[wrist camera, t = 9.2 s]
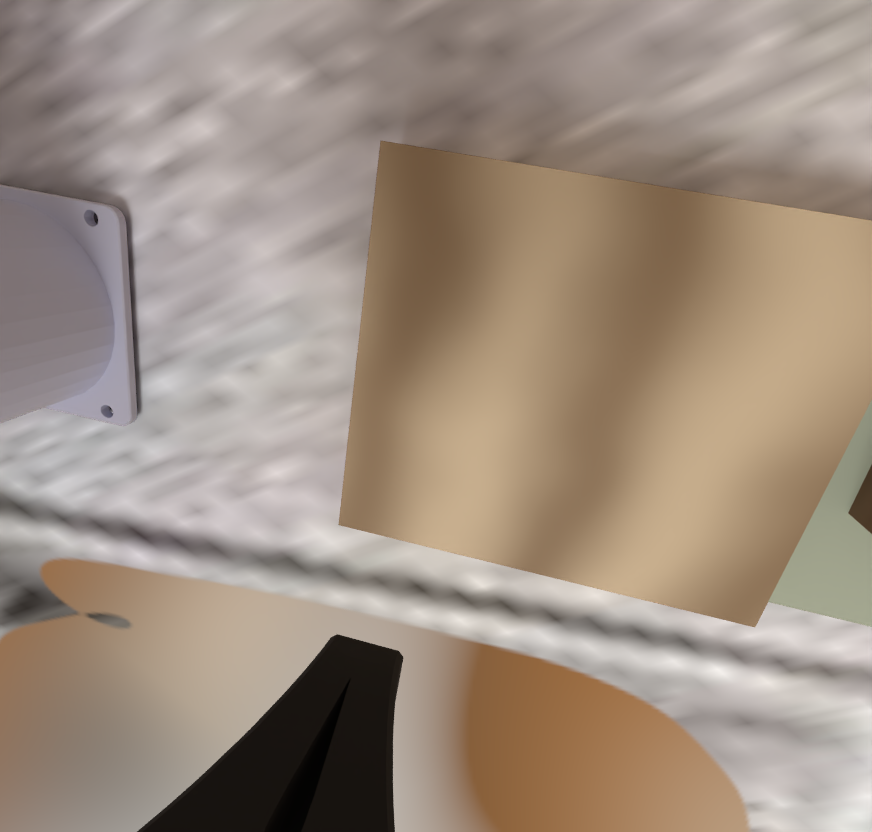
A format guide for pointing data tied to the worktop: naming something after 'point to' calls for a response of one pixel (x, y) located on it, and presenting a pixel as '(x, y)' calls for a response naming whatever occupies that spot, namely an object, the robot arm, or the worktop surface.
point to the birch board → (603, 376)
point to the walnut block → (864, 503)
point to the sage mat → (835, 545)
